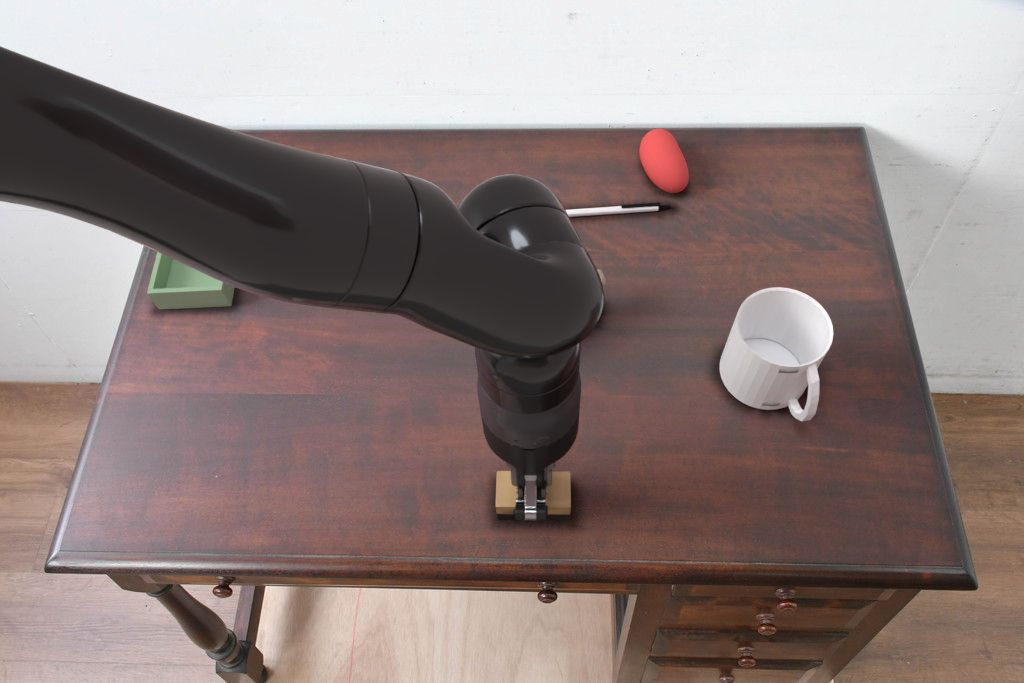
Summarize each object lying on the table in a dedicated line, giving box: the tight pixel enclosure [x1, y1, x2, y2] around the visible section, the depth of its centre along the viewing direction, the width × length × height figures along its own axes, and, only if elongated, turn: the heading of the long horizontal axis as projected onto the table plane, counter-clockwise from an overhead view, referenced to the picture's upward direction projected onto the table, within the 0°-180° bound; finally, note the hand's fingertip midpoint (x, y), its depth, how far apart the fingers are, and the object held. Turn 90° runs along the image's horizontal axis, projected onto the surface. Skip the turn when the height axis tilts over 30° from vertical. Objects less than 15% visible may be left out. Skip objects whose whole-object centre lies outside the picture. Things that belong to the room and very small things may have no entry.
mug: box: [718, 286, 834, 422], centre depth 79 cm, size 12×9×9 cm
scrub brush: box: [495, 470, 572, 521], centre depth 74 cm, size 7×4×10 cm, turn 89°
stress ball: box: [638, 128, 690, 194], centre depth 98 cm, size 5×9×6 cm, turn 2°
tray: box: [146, 251, 236, 311], centre depth 94 cm, size 15×8×3 cm, turn 2°
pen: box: [565, 202, 671, 218], centre depth 96 cm, size 1×19×1 cm, turn 93°
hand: (533, 484), depth 74 cm, fingers open, 3 cm apart
